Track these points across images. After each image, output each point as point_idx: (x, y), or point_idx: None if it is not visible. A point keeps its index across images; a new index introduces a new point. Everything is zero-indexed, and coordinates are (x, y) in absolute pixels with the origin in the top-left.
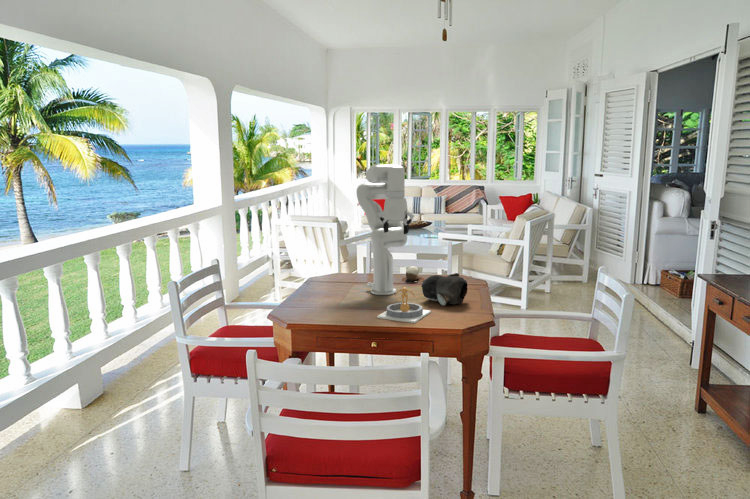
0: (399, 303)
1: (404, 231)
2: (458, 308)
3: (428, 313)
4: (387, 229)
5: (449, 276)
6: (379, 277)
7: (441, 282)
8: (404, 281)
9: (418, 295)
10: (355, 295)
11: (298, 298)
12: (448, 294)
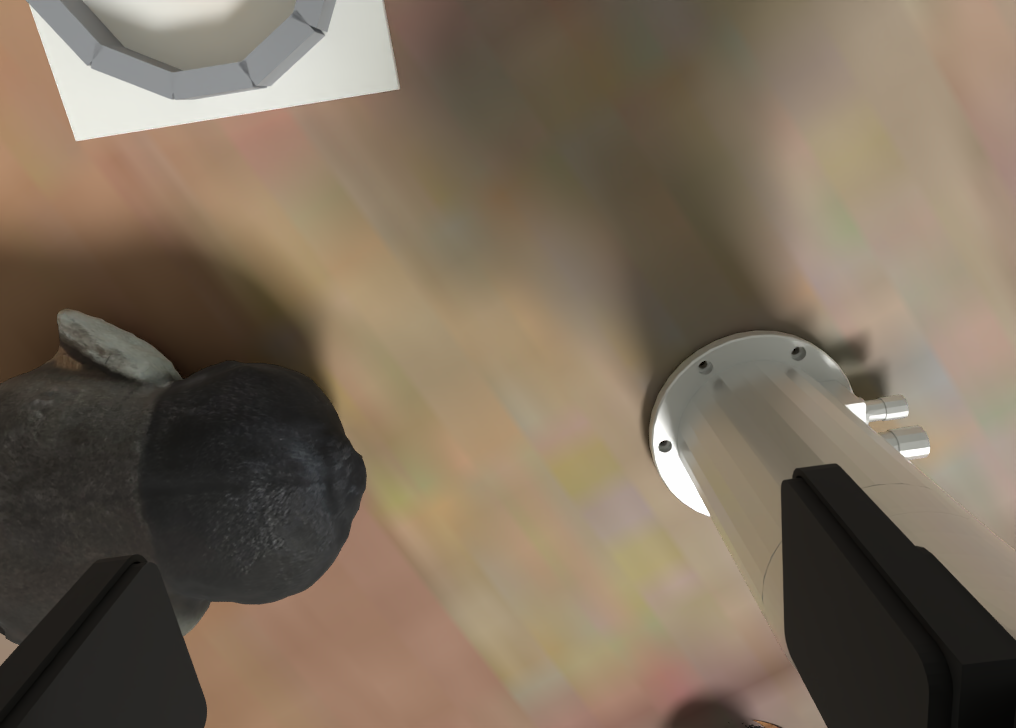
0: (295, 18)
1: (70, 601)
2: (6, 351)
3: (61, 83)
4: (811, 630)
5: None
6: (793, 412)
7: (96, 458)
8: (765, 726)
9: (467, 487)
10: (906, 228)
11: None
12: (31, 379)
